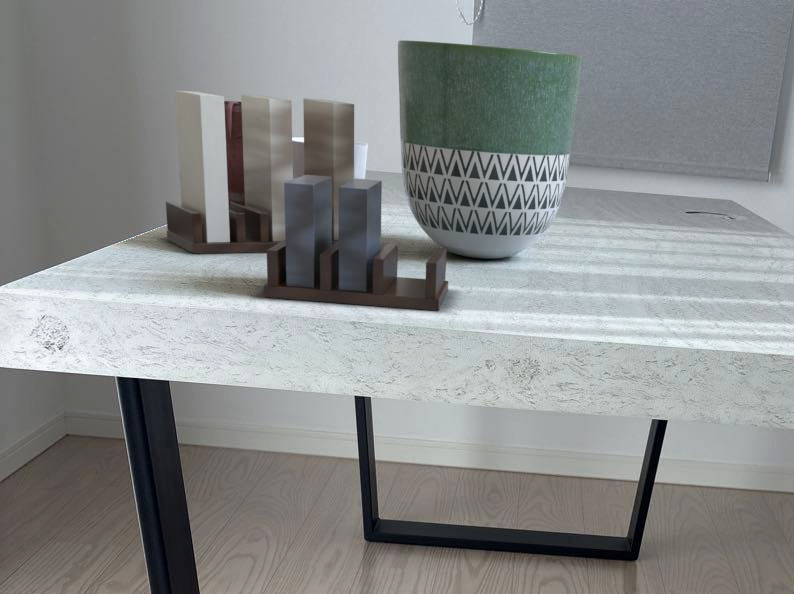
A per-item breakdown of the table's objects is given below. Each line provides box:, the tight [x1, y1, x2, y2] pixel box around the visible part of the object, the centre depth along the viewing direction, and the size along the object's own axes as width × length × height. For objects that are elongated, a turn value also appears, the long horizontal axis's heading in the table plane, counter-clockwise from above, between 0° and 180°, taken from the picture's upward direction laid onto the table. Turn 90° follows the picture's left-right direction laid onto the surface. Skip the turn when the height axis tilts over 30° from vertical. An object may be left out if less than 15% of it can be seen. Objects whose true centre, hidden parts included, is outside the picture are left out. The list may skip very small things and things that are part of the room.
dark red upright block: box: [224, 100, 245, 207], centre depth 122 cm, size 6×6×14 cm
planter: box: [397, 39, 584, 260], centre depth 116 cm, size 20×20×21 cm
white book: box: [174, 90, 230, 243], centre depth 109 cm, size 2×8×14 cm, turn 34°
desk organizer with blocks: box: [263, 175, 449, 312], centre depth 93 cm, size 15×9×10 cm, turn 89°
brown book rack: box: [165, 94, 355, 255], centre depth 113 cm, size 20×9×15 cm, turn 124°
